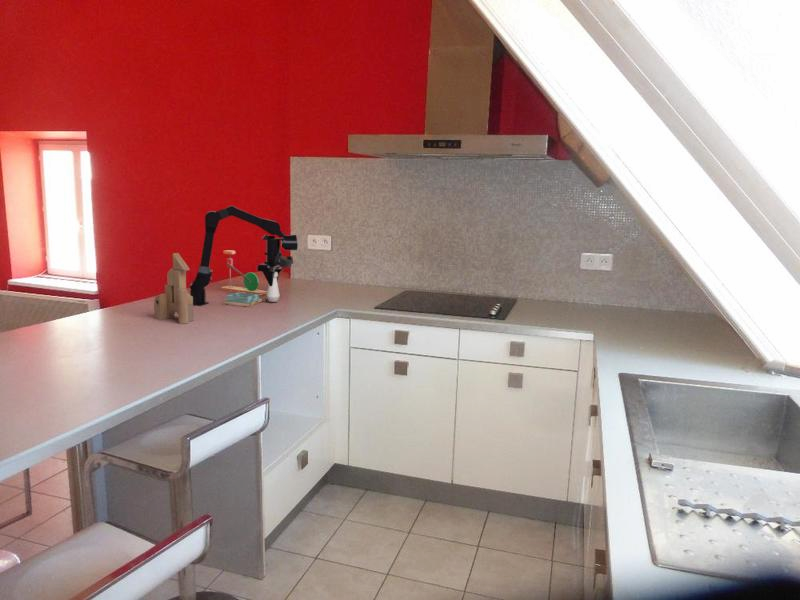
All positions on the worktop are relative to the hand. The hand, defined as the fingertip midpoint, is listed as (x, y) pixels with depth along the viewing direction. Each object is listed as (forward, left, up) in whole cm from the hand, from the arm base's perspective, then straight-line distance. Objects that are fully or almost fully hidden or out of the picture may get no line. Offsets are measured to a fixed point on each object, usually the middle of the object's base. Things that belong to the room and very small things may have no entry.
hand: (273, 285), depth 256 cm
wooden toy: (-46, +17, -8) cm, 50 cm away
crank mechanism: (+19, +25, -8) cm, 33 cm away
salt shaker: (0, 0, -7) cm, 7 cm away
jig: (-4, +11, -8) cm, 14 cm away
